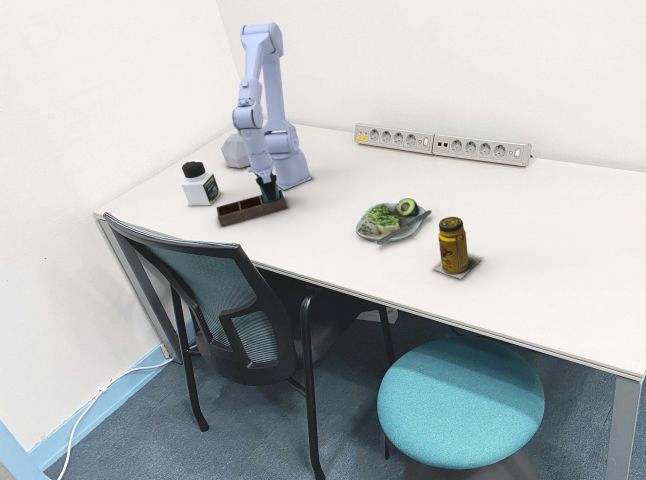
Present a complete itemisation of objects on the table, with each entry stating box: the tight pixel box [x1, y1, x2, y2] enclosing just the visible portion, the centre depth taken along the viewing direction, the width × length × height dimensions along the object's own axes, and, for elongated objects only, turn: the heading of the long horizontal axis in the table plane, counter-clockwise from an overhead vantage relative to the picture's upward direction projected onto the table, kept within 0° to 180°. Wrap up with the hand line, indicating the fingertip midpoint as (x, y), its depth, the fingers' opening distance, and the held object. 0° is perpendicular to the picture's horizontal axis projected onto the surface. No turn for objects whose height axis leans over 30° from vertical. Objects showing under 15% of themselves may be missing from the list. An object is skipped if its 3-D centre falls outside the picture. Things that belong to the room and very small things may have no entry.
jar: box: [256, 172, 281, 204], centre depth 169 cm, size 5×5×8 cm
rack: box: [215, 189, 288, 228], centre depth 171 cm, size 19×7×3 cm, turn 108°
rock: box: [220, 132, 251, 169], centre depth 199 cm, size 18×20×10 cm
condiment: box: [433, 216, 482, 280], centre depth 135 cm, size 7×8×12 cm
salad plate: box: [355, 197, 432, 246], centre depth 153 cm, size 19×18×5 cm
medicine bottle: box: [181, 159, 221, 207], centre depth 178 cm, size 7×7×12 cm
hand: (270, 195), depth 171 cm, fingers closed on jar, 5 cm apart
